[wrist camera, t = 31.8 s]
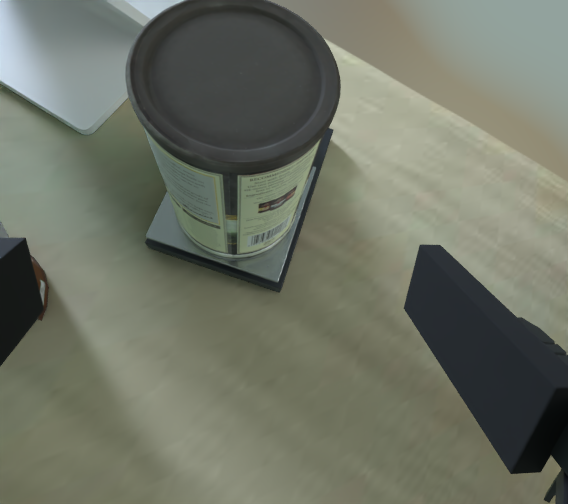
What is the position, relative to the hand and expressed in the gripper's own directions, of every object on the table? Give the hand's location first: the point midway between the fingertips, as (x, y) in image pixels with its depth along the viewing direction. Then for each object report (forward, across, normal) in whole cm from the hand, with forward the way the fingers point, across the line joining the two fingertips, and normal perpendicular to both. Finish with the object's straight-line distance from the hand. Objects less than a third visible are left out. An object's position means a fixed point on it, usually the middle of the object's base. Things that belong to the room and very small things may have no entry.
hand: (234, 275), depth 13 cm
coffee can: (+19, 0, -4) cm, 19 cm away
